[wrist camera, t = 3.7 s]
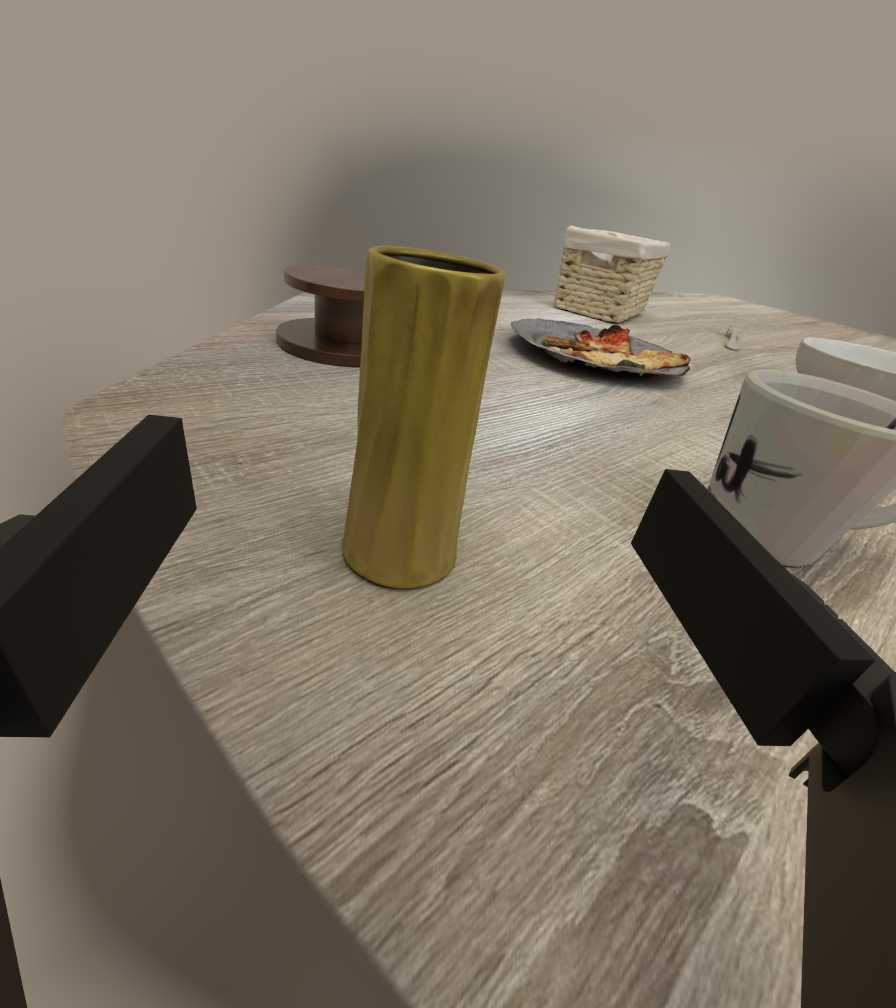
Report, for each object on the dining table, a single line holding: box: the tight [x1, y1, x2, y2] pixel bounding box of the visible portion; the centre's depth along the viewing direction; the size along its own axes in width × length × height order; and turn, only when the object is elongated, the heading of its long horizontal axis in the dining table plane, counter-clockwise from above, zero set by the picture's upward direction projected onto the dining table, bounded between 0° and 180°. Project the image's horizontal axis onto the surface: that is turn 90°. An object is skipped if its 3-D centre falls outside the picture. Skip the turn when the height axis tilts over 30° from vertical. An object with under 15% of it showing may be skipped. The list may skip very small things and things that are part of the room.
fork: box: [726, 326, 743, 350], centre depth 98 cm, size 3×21×3 cm, turn 152°
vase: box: [342, 246, 505, 588], centre depth 22 cm, size 6×6×14 cm
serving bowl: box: [796, 338, 896, 402], centre depth 67 cm, size 21×21×7 cm
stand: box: [276, 265, 365, 367], centre depth 52 cm, size 14×14×7 cm
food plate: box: [511, 318, 690, 376], centre depth 67 cm, size 25×23×4 cm
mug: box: [707, 369, 896, 567], centre depth 31 cm, size 10×15×10 cm
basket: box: [554, 226, 670, 323], centre depth 99 cm, size 24×16×15 cm
